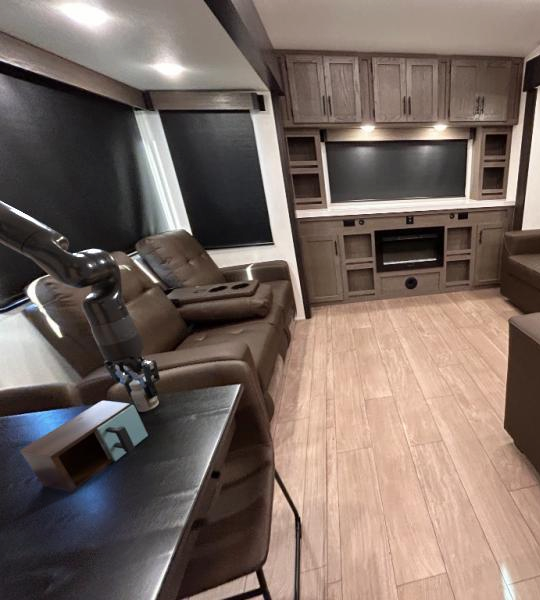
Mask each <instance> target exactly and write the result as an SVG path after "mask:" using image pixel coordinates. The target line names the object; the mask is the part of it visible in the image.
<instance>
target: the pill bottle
mask: <svg viewBox="0 0 540 600" xmlns="http://www.w3.org/2000/svg"><path fill="white" fill-rule="evenodd" d="M143 379H144V380H145V381H146V379H145V377H143ZM129 386H130V388H131V390H132V392H131V396H132V397H131V398H132V400H133V402H134V406H135V408H136V410H137V412H140V413H145V412H149V411H151V410H153V409H155V408H157V406H158V405H159V403H160V402H159V398H158V395H157V396H155V397H154V398H152V399H148V398H147V396H146V393H145V391H144V389H143V386H142V385H141V384H140V382H139V381H138V380H137V381H136V380H134V379H133V381H132V382H131V383H130V384H129Z"/></svg>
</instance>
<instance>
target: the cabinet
mask: <svg viewBox="0 0 540 600" xmlns="http://www.w3.org/2000/svg"><path fill="white" fill-rule="evenodd" d="M131 405H132V404H131V403H128V402H127V403H126V402H120V401H112V400H101V401H99V402H97V403H96V404H94V405H92V406H90V407H89V408H88V409H85V410H84V411H82V412H81V413H79V414H78V415H76V416H74V417H72V418H71V419H70V420H68V421H66V422H64V423H63V424H61V425H60V426H58V427H56V428H55V429H53V430H51V431H50V432H48V433H46V434H44V435H43V436H41V437H40V438H38V439H36V440H35V441H33V442H31V443H29V444H28V445H26V446H25V447H23V448H22V449H20V450H19V452H20V454H21V456H23V458H24V459H25V461H26V462H27V464H28V465H29V467H30V468H31V470H32V471H33V473H34V474H35V476H36V477H37V479H38V480H39V483H41V485H42V487H45V488H50V489H54V490H59V491H61V492H62V491H63V492H67V493H71V494H74V493H76V492H77V491H79V489H80V488H82V487H83V486H84V485H85V484H86V483H88V482H89V481H90V480H92V479H94V478H95V477H96V476H97V475H99V473H101V472H102V471H103V470H105V468H107V467H109V466H110V465H111V464H112V463H113V462H114V461H113V459H112V457H111V455H110V453H109V451H108V449H107V447H106V446H105V444H104V442H103V440H102V438H101V436H100V434H99V432H98V431H97V428H98V427H100V426H101V425H103V424H104V423H106V422H107V421H109V420H110V419H112V418H113V417H115V416H116V415H118V414H119V413H121V412H122V411H124V410H125V409H127V408H128V407H130V406H131Z"/></svg>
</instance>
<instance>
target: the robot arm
mask: <svg viewBox="0 0 540 600" xmlns="http://www.w3.org/2000/svg"><path fill="white" fill-rule="evenodd" d="M0 243H1V244H3V245H4V246H6V247H8V248H10V249H11V250H14V251H16V252H18V253H19V254H21V255H23V256H25V257H27V258H30V259H31V261H33V262H35V264H36V265H38V266H39V267H40V268H41V269H42V270H43V271H44V272H46V273H47V274H48V276H50V277H51V278H52V279H53V280H55V282H58V283H59V284H61V285H63V286H66V287H69V288H73V289H83V288H87V287H90V292H89V293H88V294H87V295H86V296H85V297H84V298H83V299H82V300H81V301H80V305H81V309H82V311H83V314H84V315H85V317H86V320H87V321H88V324H89V327H90V330H91V334H92V336H93V338H94V340H95V343H96V344H97V347H98V349H99V352H100V353H101V355H102V357H103V359H104V360H105V361H103V362H102V364H103V366H104V367H105V369H106V370H107V372H108V373H109V375H110V376H111V378H112V379H113V381H114V382H115V383H120V384H121V385H122V386H124V389H125V390H126V392H127V394H128V396H129V398H130V397H131V398H132V396H131V392H132V390H131V388H130V386H129V384H130V383H131V382H132V381H133V380H136V381H137V380H138V381H139V382H140V384H141V385H142V386H143V389H144V391H145V393H146V396H147V398H148V399H152V398H154V397H155V396H157V397H158V395H159V392H158V390H157V389H158V388H157V386H156V385H155V384H156V382H157V383H158V382H159V380H161V377H160V372H159V369H158V364H157V361H156V359H151V360H150V361H149V360H147V359H146V358H145V357H144V356H143V354H142V352H143V350H144V349H145V345H144V342H143V339H142V337H141V335H140V333H139V331H138V328H137V325H136V323H135V321H134V319H133V317H132V316H131V315H130V312H129V310H128V308H127V305H126V303H125V300H124V299H123V285H122V275H121V269H120V266H119V264H118V261H117V260H116V258H115V257H114V256H113V255H112V254H111V253H109V252H107V251H106V250H103V249H100V248H91V249H86V250H83V251H82V250H81V251H78V252H75V253H71V252H68V250H69V246H70V243H69V239H68V238H67V237H65V235H63V234H62V233H60V232H58V231H57V230H55V229H53V228H51V227H49V226H48V225H46V224H44V223H42V222H41V221H39V220H37V219H35V218H33V217H31V216H30V215H28V214H25V213H23V212H22V211H20V210H18V209H16V208H14V207H12V206H10V205H8V204H6V203H4V202H3V201H1V200H0ZM143 378H145V379H146V381H145V380H144V379H143Z"/></svg>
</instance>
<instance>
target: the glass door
mask: <svg viewBox="0 0 540 600" xmlns="http://www.w3.org/2000/svg"><path fill="white" fill-rule="evenodd" d="M130 405H131V406H130V407H128V408H127V409H125V410H124V411H122V412H121V413H119V414H118V415H116V416H115V417H113V418H112V419H110V420H109V421H107V422H106V423H104V424H103V425H101V426H100V427H98V428H97V431H98V432H99V434H100V436H101V438H102V440H103V442H104V444H105V446H106V447H107V449H108V451H109V453H110V455H111V457H112V459H113V462H117V461H118V460H119V459H121V458H122V457H123V456H124V455H126V454H127V453H131V452H132V451H133V450H135V449H136V446H137V445H138V444H139V443H141V442H142V441H143V440H144V439H146V438H147V437H148V436H149V434H148V432H147V431H146V428H145V425H144V423H143V421H142V420H141V417H140V415H139V413H138V410H137V407H136V405H135V404H130Z"/></svg>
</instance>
